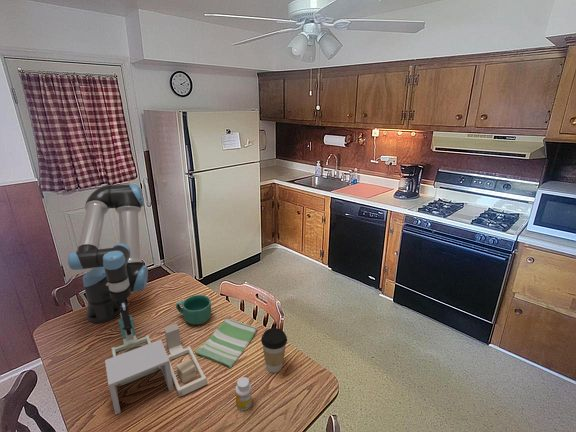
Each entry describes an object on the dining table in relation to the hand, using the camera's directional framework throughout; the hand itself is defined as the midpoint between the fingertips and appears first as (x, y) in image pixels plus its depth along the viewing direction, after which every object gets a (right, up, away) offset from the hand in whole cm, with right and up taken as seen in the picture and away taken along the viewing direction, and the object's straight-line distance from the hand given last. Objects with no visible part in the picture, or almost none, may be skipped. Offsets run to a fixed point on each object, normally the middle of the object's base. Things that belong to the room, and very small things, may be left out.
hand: (127, 330), depth 135 cm
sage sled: (+7, -7, -8) cm, 12 cm away
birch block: (+31, -11, -17) cm, 37 cm away
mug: (+25, 0, +14) cm, 28 cm away
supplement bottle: (+54, -15, -28) cm, 63 cm away
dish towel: (+44, -6, 0) cm, 44 cm away
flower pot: (+11, -10, -15) cm, 21 cm away
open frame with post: (+28, -9, -13) cm, 32 cm away
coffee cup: (+64, -10, -12) cm, 66 cm away
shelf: (+17, -13, -23) cm, 31 cm away
